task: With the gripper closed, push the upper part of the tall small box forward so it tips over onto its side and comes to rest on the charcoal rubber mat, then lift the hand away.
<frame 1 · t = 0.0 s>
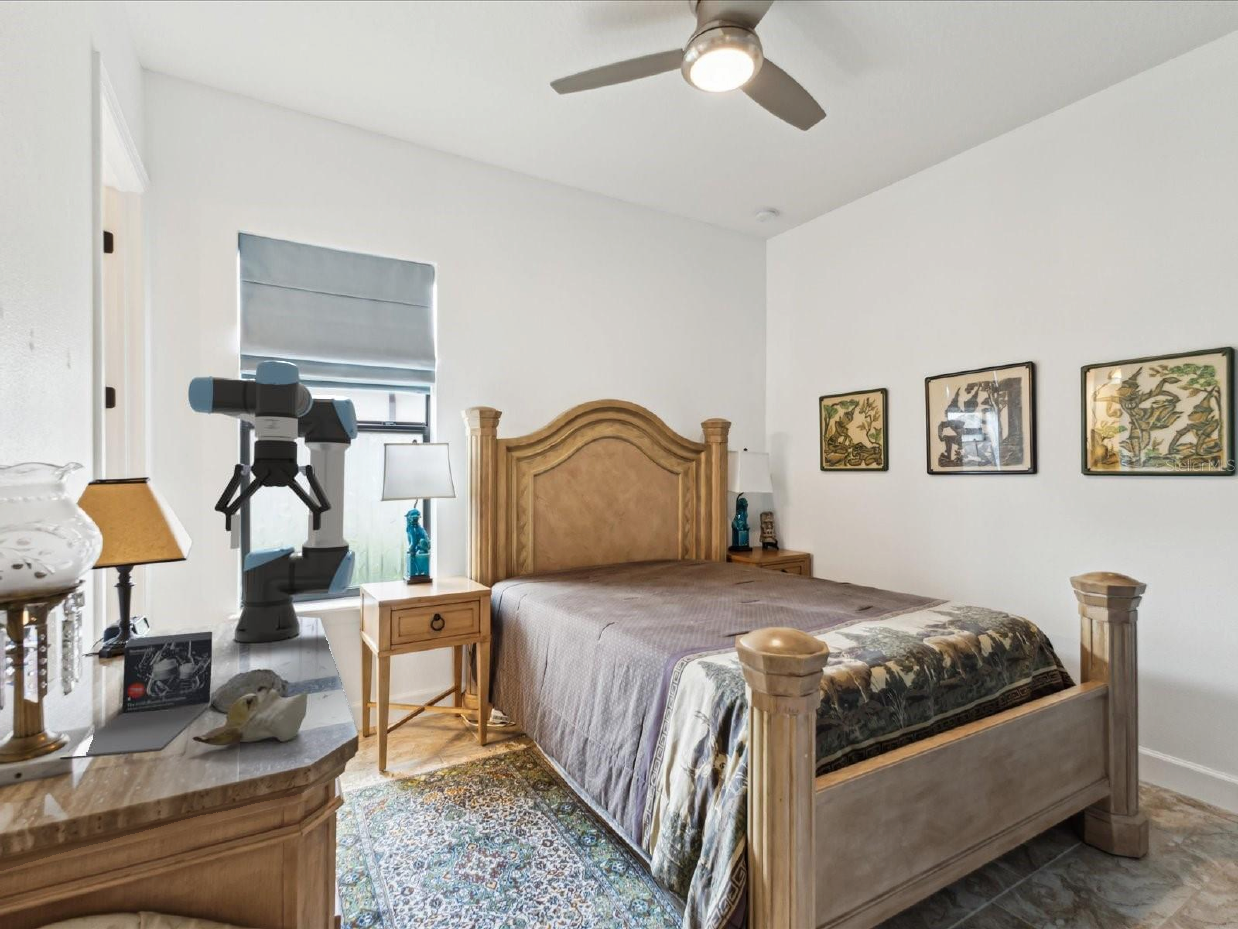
hand: (273, 547, 124), 28 cm above the dresser top, fingers open, 13 cm apart
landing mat: (140, 731, 103), on the dresser top
ceramic sculpture: (258, 741, 100), on the dresser top
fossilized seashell: (252, 704, 117), on the dresser top
small box: (168, 704, 116), on the dresser top
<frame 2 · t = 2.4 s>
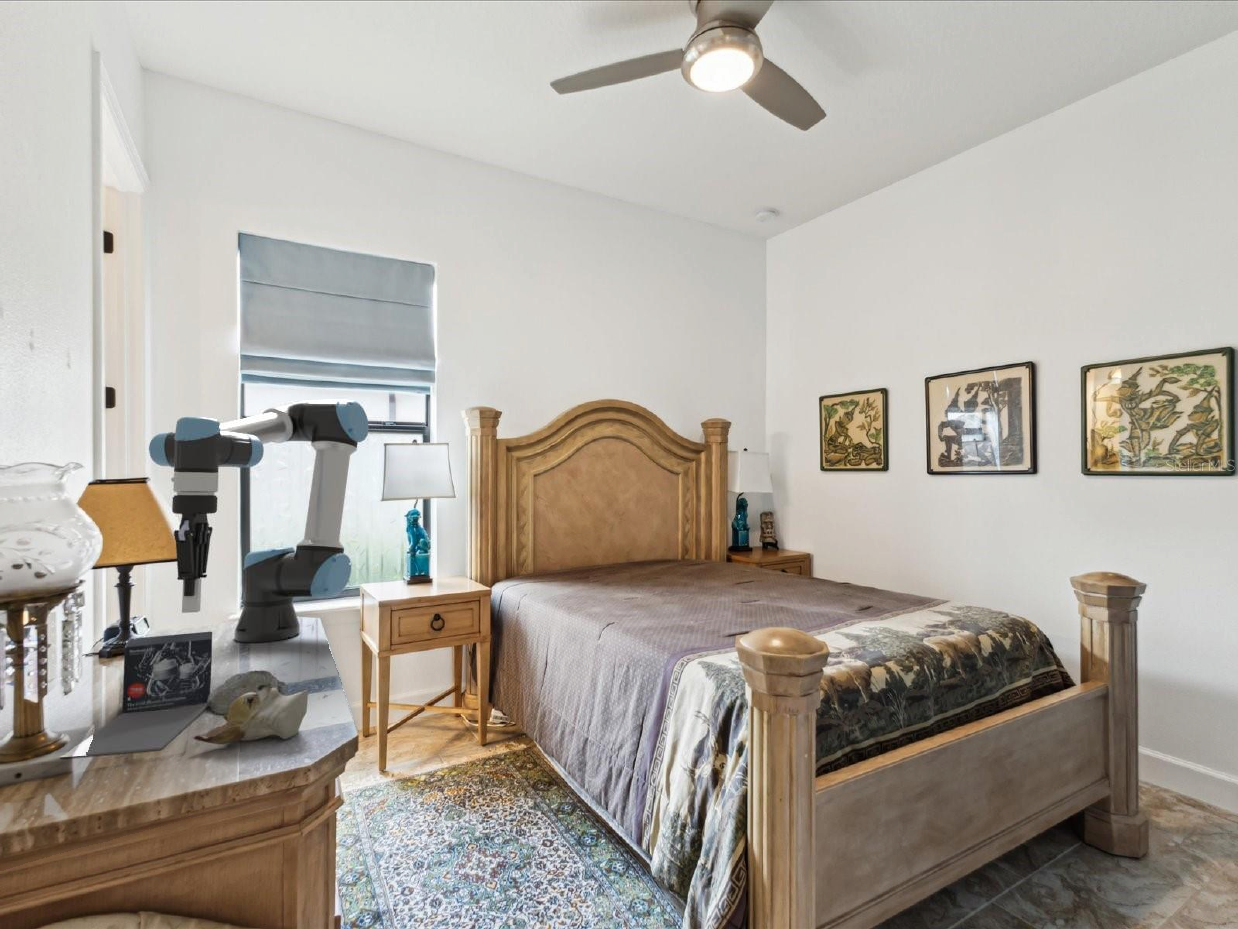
hand: (191, 611, 126), 15 cm above the dresser top, fingers closed
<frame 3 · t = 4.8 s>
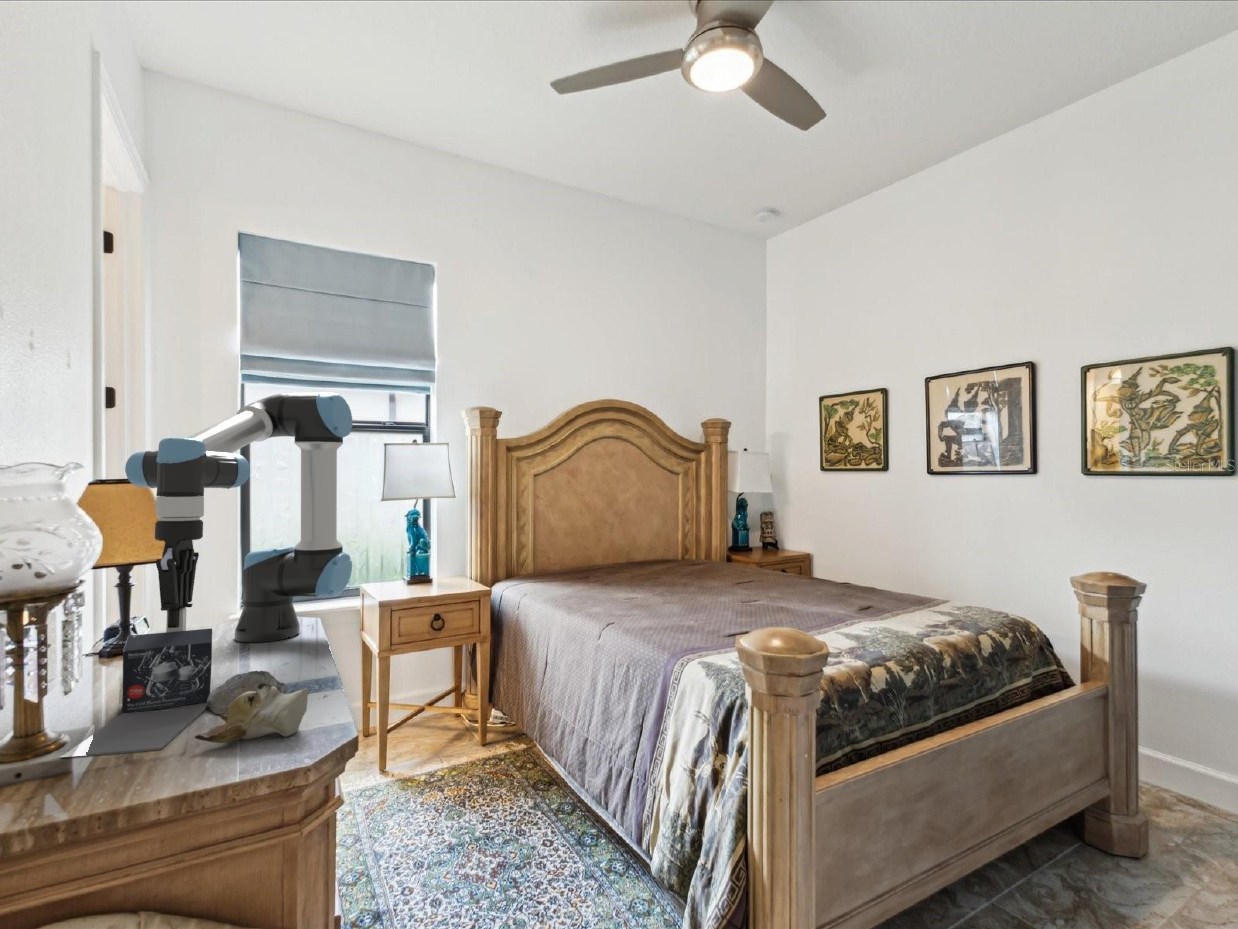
hand: (175, 643, 119), 10 cm above the dresser top, fingers closed
small box: (168, 701, 116), on the dresser top, touching gripper
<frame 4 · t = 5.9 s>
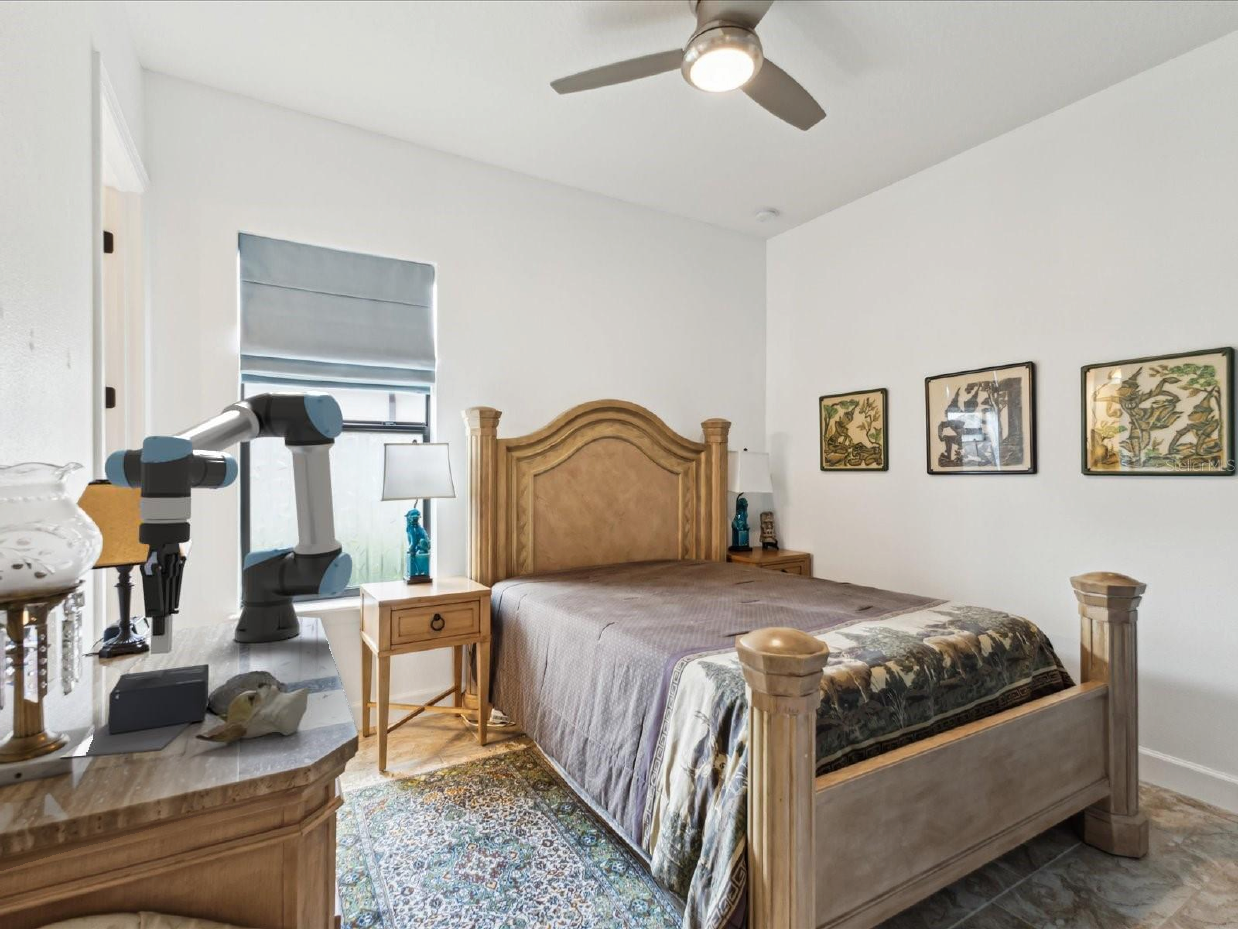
hand: (161, 652, 113), 10 cm above the dresser top, fingers closed
small box: (166, 687, 114), point 4 cm above the dresser top, touching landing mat
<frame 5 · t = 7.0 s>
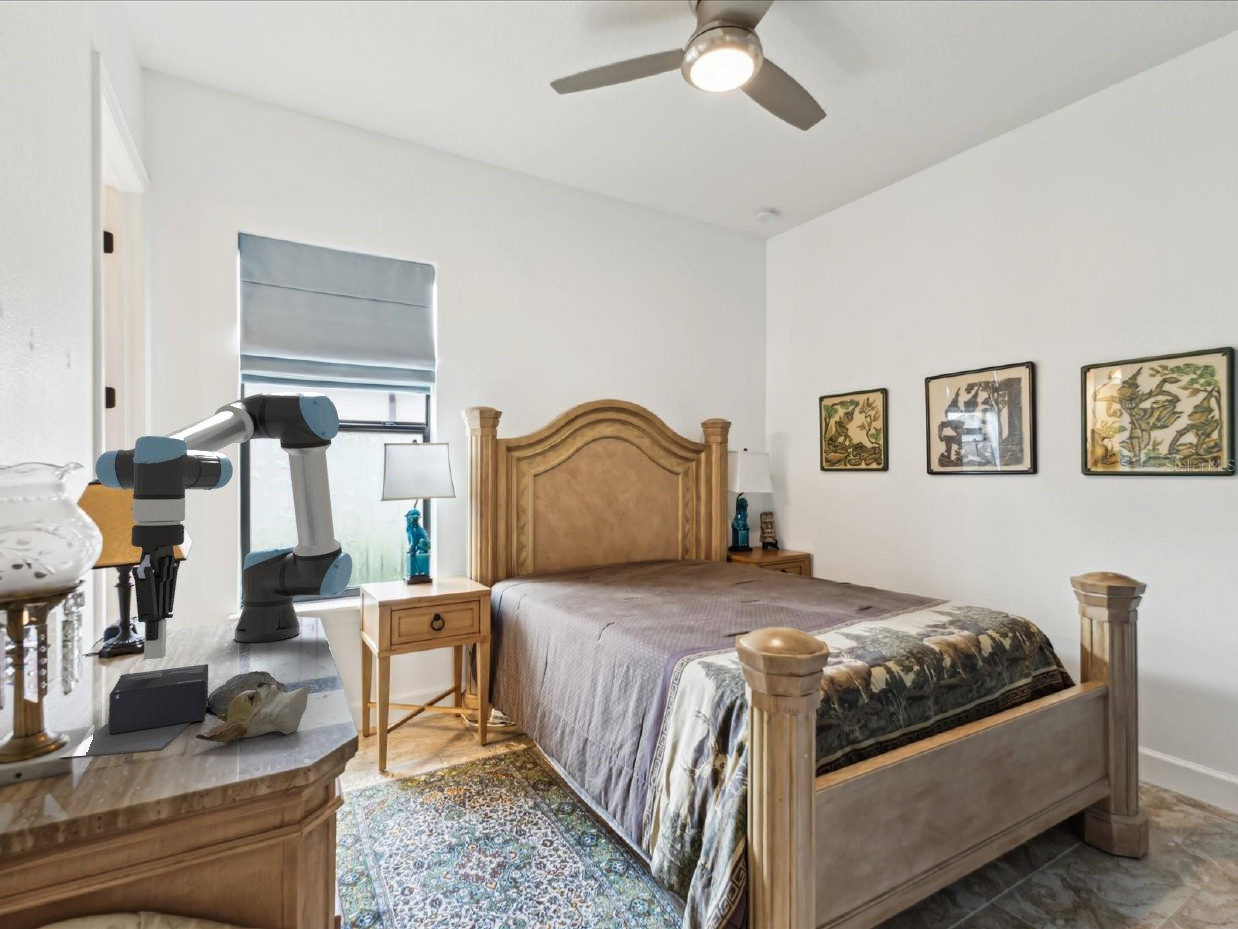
hand: (154, 657, 110), 10 cm above the dresser top, fingers closed
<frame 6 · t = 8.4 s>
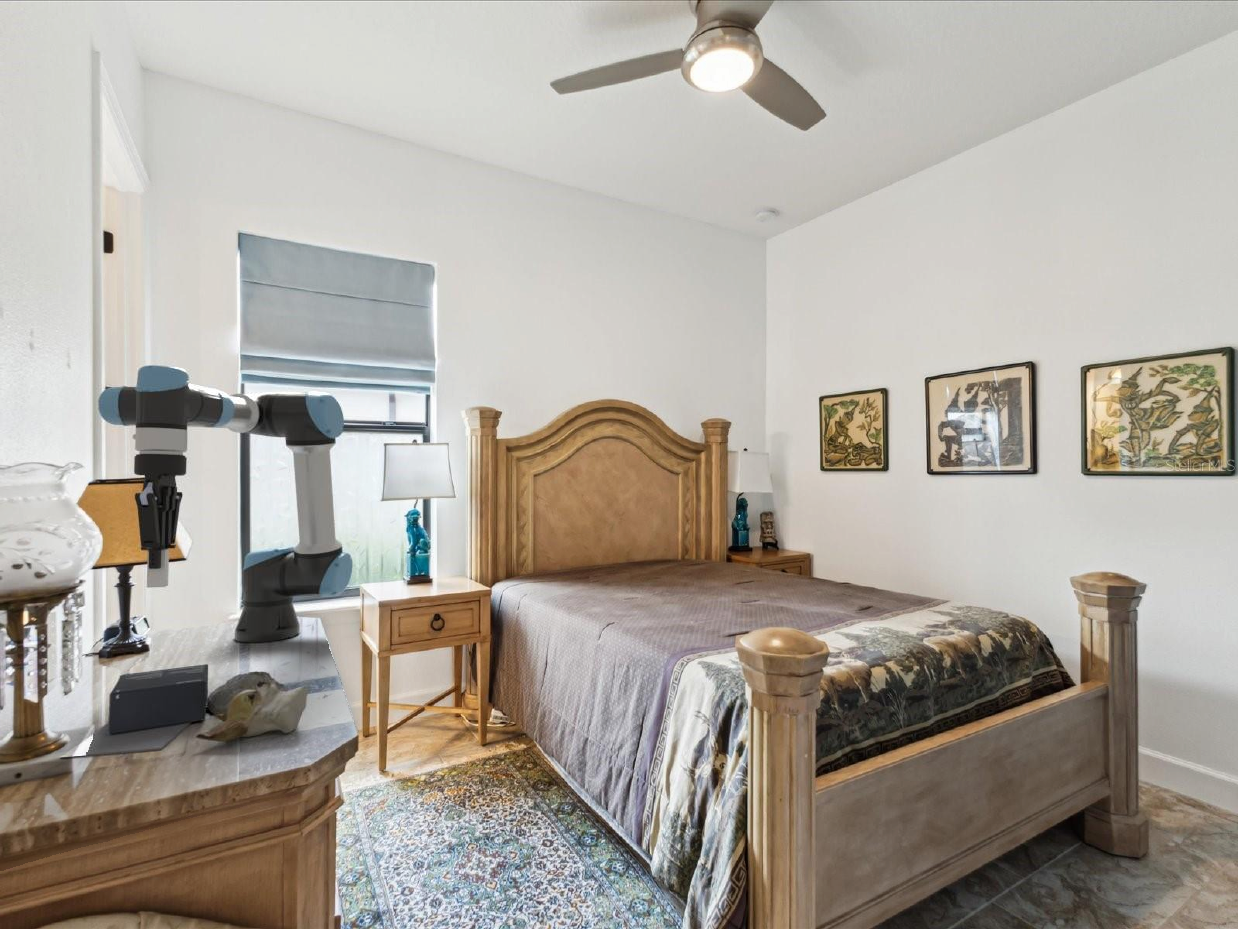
hand: (157, 586, 111), 22 cm above the dresser top, fingers closed
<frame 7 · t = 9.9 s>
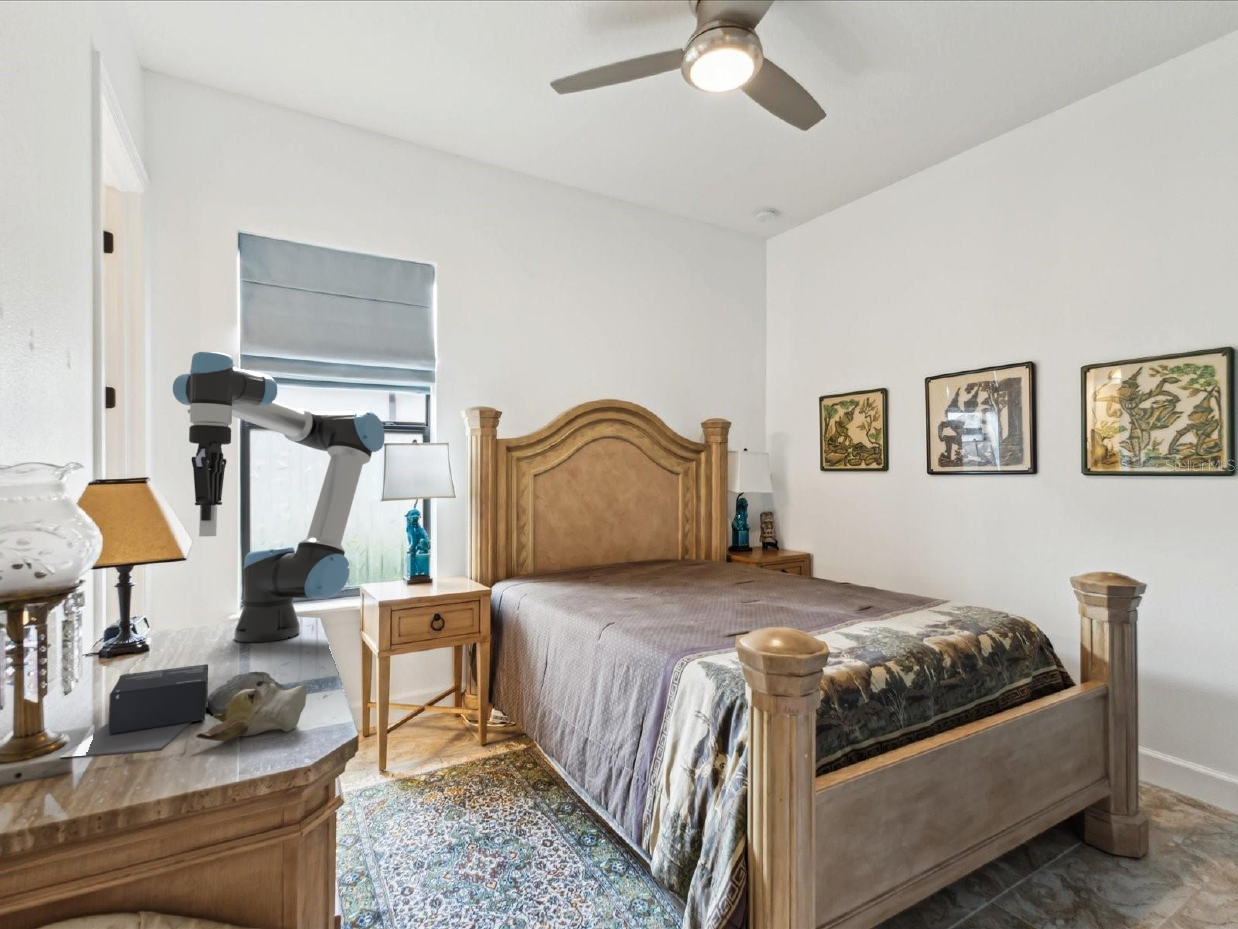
hand: (207, 536, 133), 29 cm above the dresser top, fingers closed
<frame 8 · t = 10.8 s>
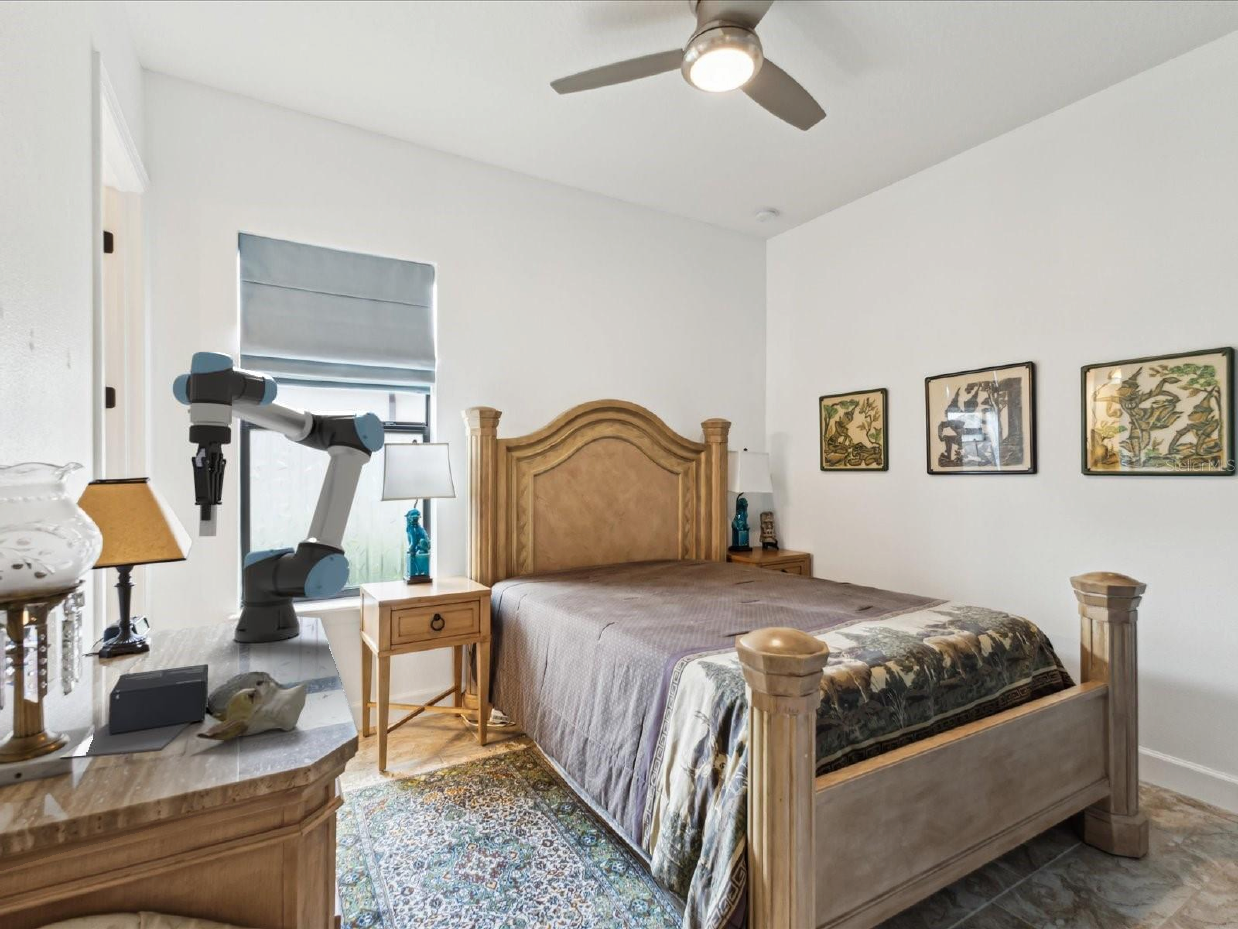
hand: (207, 536, 133), 29 cm above the dresser top, fingers closed
at the end: small box tilted 89°; small box touching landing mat; the gripper is holding nothing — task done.
